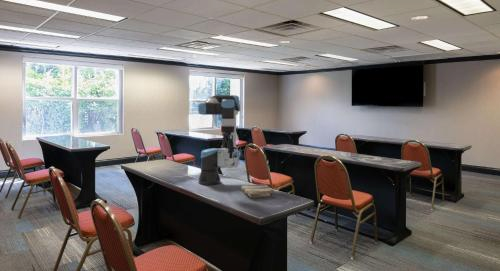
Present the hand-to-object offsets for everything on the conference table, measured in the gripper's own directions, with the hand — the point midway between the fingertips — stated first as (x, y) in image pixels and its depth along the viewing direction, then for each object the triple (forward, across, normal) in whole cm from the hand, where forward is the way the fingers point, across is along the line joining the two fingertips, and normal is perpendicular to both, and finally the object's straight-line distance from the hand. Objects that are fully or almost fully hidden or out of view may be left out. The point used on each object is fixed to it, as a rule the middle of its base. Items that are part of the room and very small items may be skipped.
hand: (227, 161), depth 200 cm
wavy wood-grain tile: (+20, +4, +18) cm, 27 cm away
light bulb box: (+3, 0, 0) cm, 3 cm away
